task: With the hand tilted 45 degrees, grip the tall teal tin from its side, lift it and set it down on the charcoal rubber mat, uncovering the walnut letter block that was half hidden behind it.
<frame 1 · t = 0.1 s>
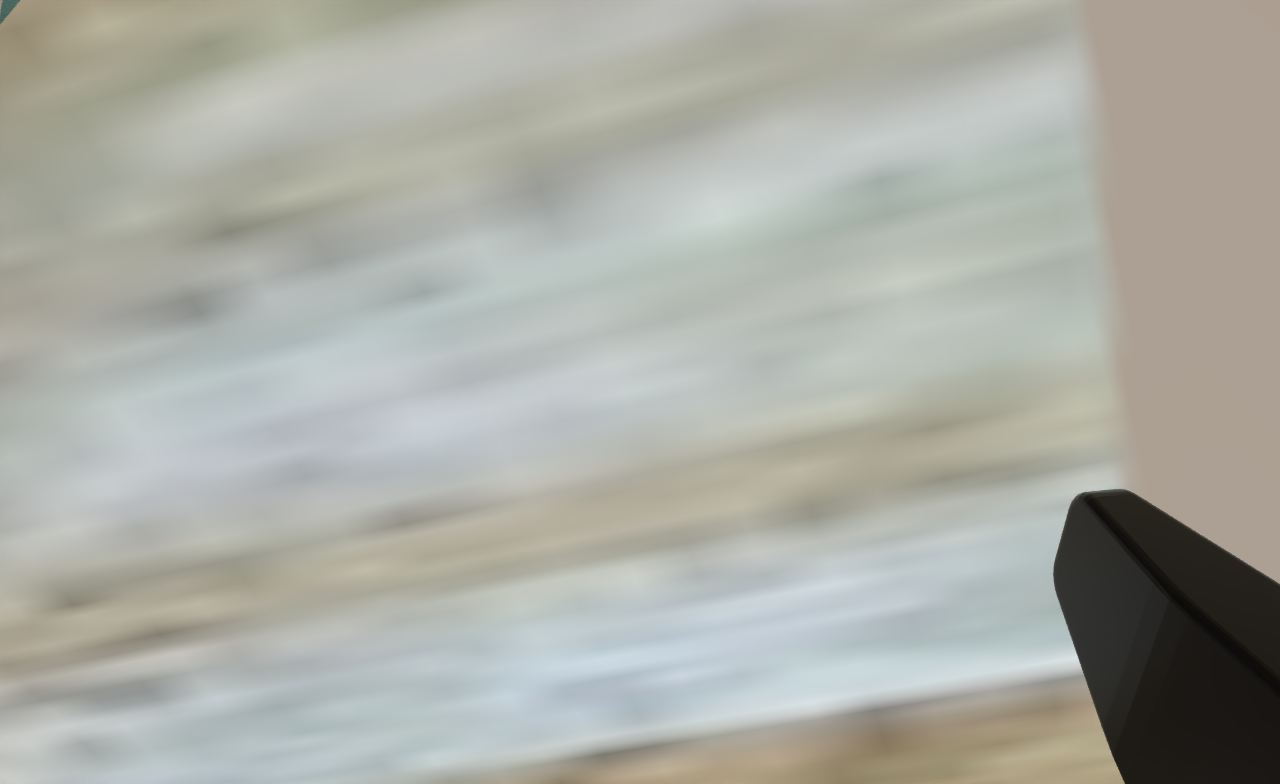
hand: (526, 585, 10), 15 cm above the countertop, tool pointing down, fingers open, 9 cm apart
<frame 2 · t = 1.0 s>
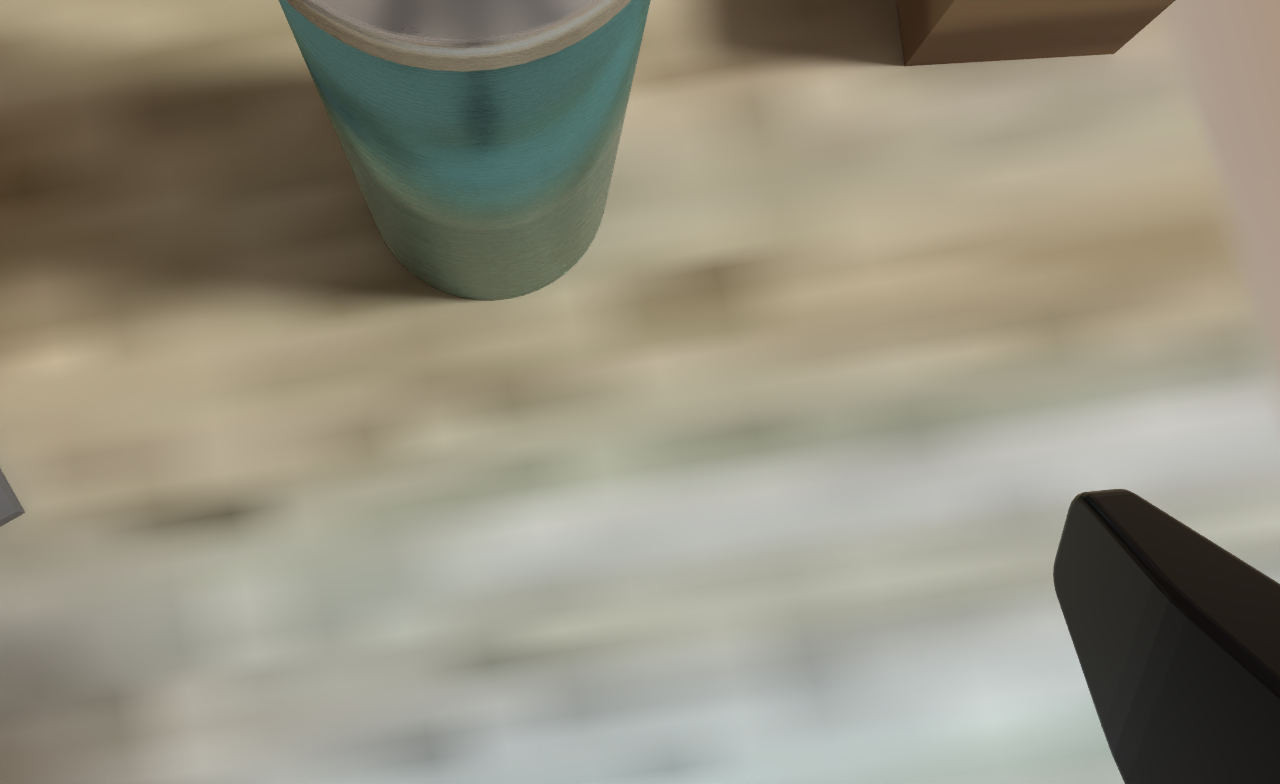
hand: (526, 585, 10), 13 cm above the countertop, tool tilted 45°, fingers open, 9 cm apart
tin: (488, 184, 24), on the countertop
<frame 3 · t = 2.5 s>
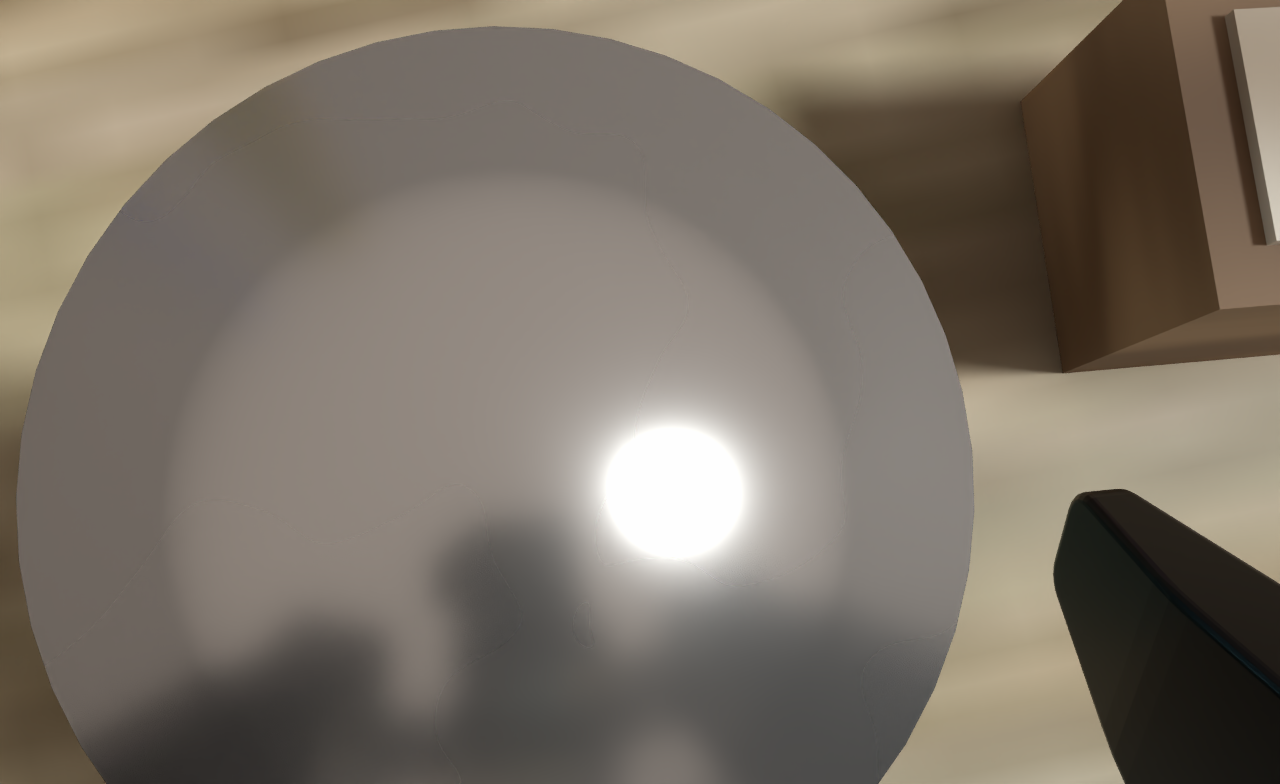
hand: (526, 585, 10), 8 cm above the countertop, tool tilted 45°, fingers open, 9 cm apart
letter block: (1172, 226, 20), on the countertop
tin: (522, 550, 18), on the countertop
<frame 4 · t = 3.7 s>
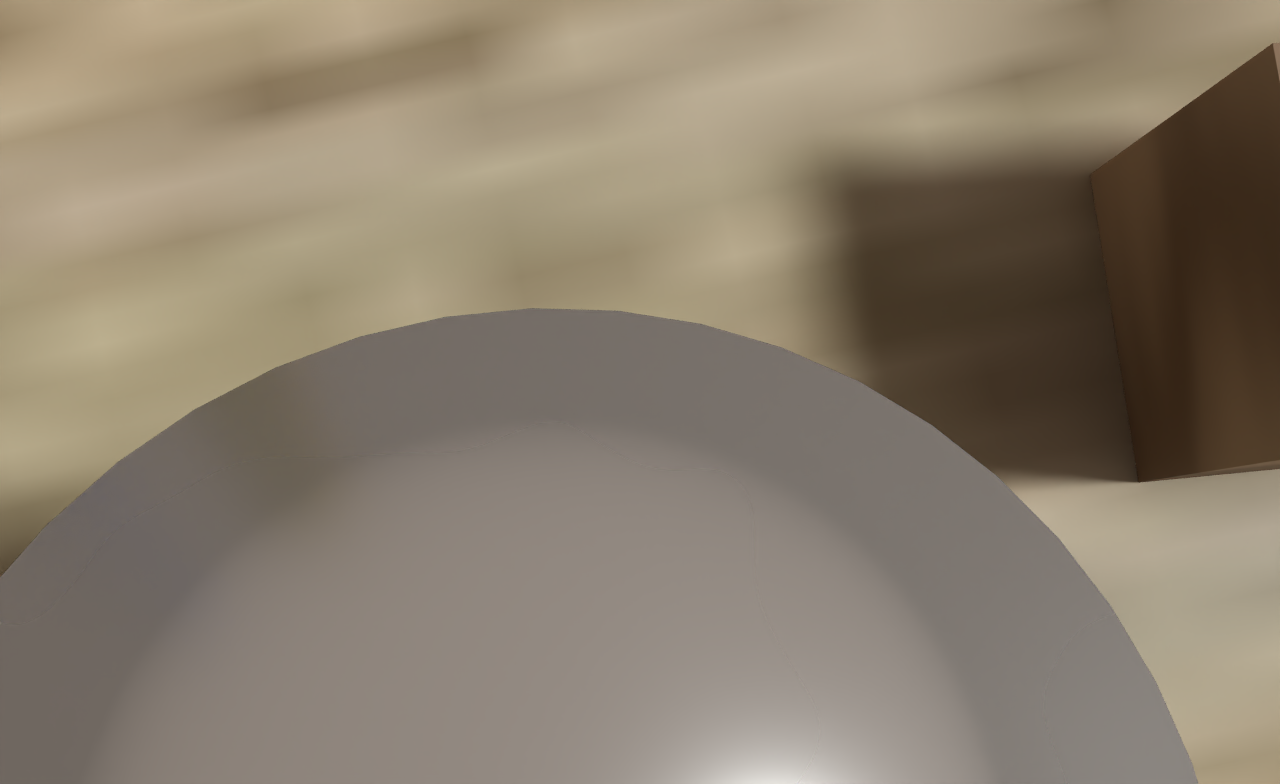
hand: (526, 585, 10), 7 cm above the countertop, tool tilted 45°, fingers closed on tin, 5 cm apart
letter block: (1258, 314, 18), on the countertop
tin: (534, 690, 16), on the countertop, touching gripper
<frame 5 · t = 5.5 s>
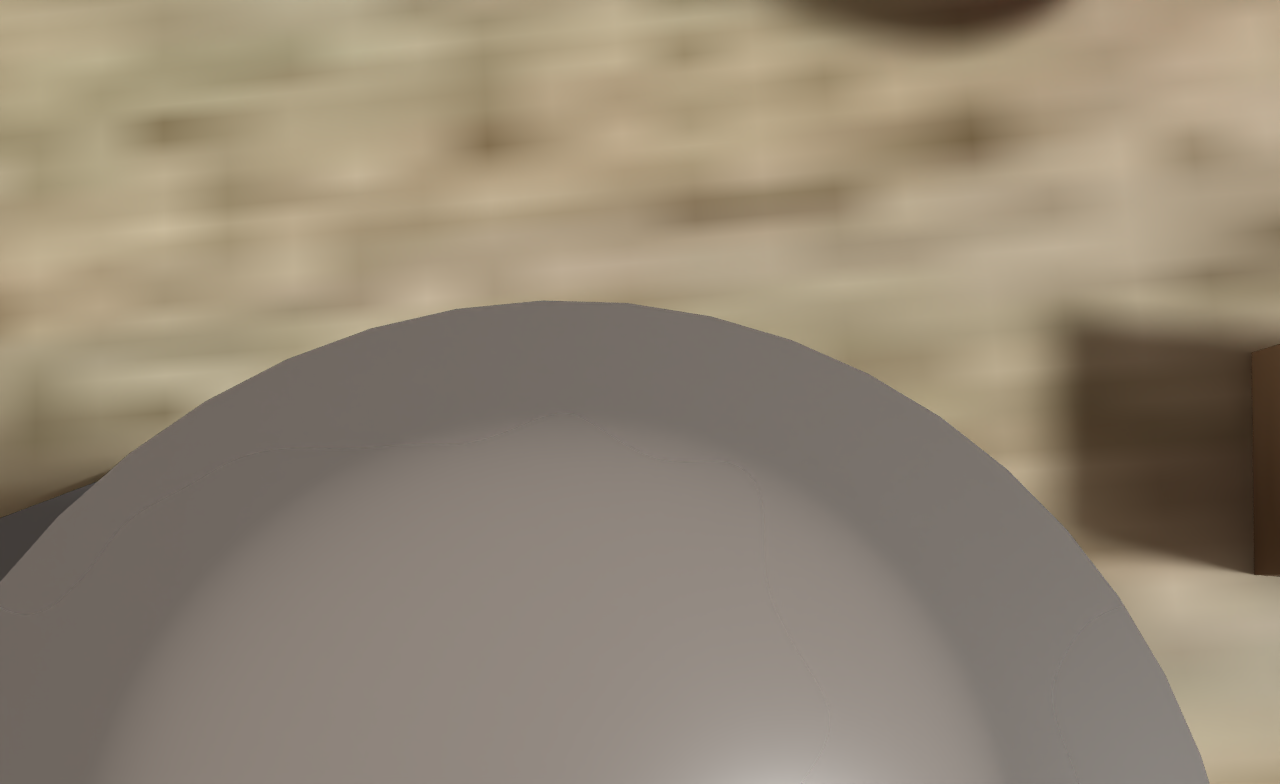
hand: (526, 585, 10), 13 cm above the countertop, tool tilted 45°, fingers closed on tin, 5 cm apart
tin: (537, 687, 16), point 7 cm above the countertop, touching gripper
when the fingers open (8 cm above the countertop, at t = 7.3 s): tin drops 1 cm, resting on mat.
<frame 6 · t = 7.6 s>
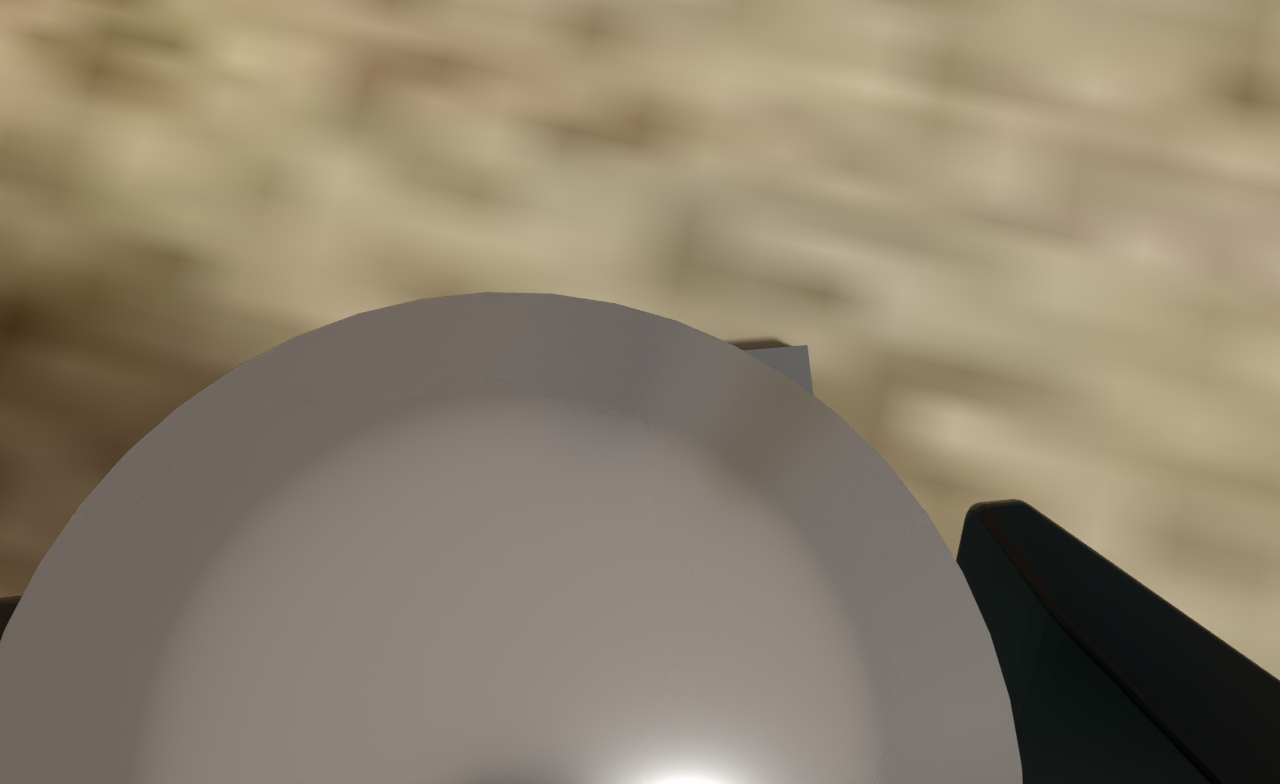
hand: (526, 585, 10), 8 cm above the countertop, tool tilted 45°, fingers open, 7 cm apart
tin: (537, 682, 17), resting on mat
mat: (534, 678, 18), on the countertop
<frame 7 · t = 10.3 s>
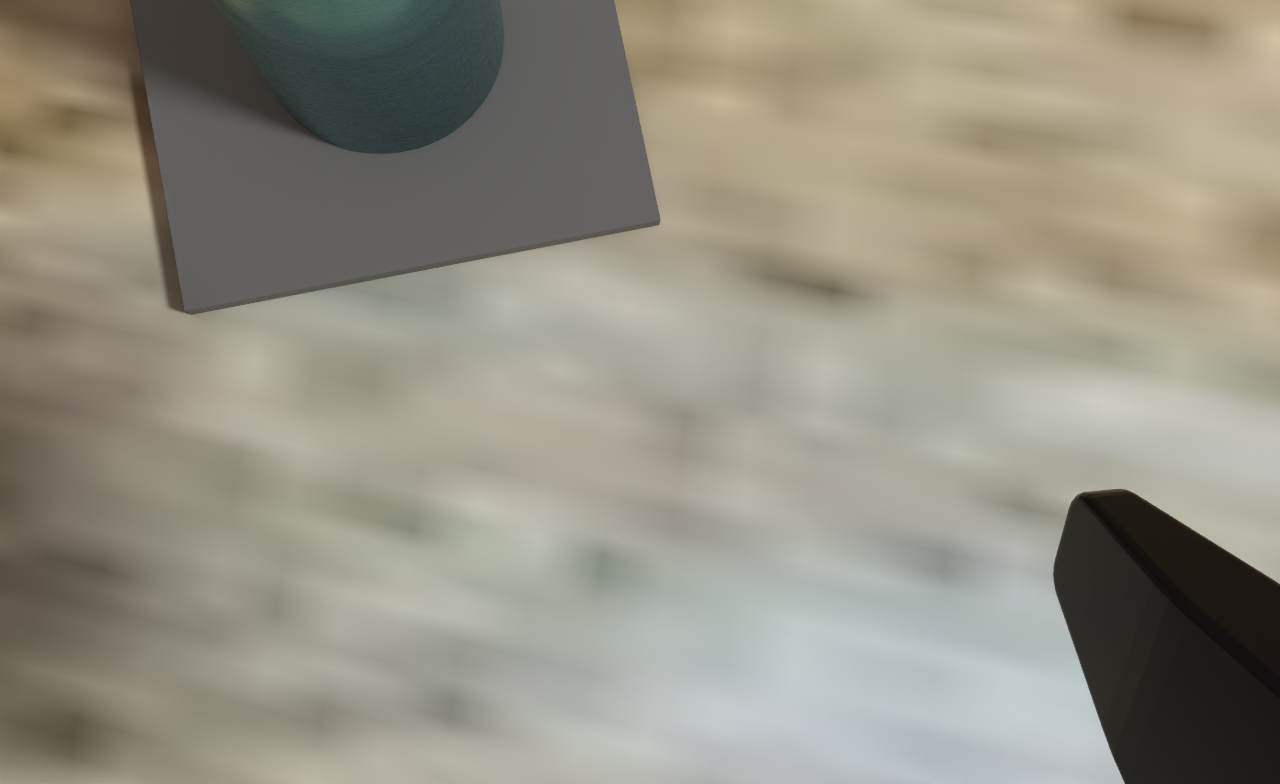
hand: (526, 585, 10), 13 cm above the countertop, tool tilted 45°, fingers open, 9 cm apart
tin: (382, 36, 23), resting on mat
mat: (384, 45, 24), on the countertop
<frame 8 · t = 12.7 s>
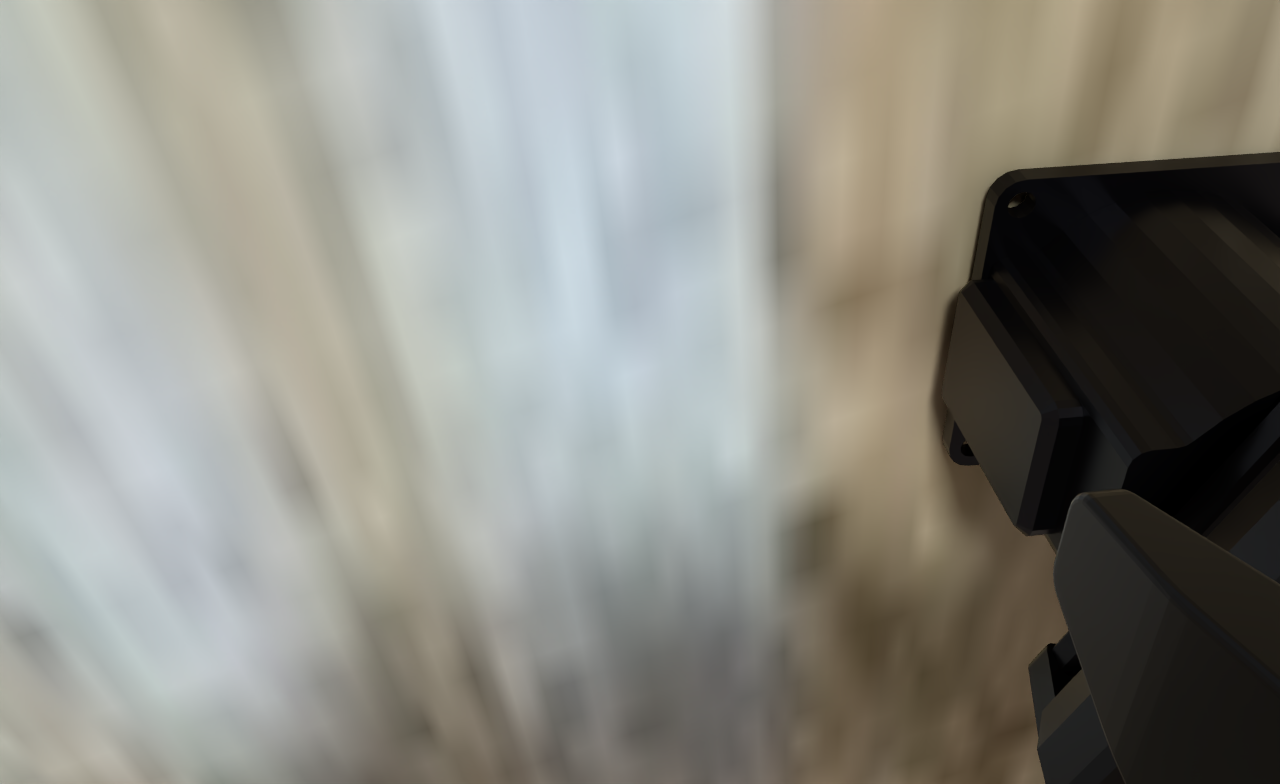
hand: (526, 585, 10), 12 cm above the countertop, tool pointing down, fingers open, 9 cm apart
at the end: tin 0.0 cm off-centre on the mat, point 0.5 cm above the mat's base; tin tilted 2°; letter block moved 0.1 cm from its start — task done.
